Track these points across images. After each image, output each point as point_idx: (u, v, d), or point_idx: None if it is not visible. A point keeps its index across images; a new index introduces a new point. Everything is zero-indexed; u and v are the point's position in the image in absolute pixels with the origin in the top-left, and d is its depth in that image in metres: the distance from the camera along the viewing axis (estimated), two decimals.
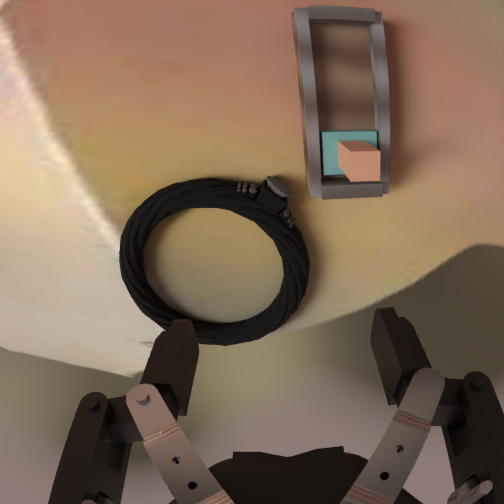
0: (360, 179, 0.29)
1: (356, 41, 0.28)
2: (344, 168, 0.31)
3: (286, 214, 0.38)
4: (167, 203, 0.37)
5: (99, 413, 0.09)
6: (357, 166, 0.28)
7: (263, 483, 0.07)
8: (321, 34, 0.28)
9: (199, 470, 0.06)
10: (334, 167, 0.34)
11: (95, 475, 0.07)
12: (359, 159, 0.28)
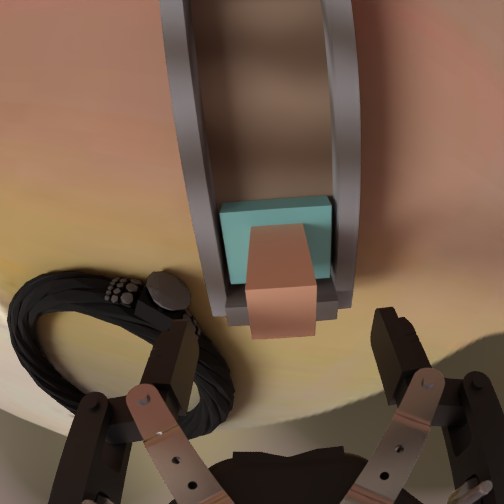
0: (272, 335, 0.14)
1: (295, 19, 0.14)
2: None
3: None
4: (32, 304, 0.23)
5: (99, 413, 0.09)
6: (262, 316, 0.14)
7: (263, 483, 0.07)
8: (220, 14, 0.14)
9: (199, 470, 0.06)
10: None
11: (95, 475, 0.07)
12: (266, 303, 0.14)
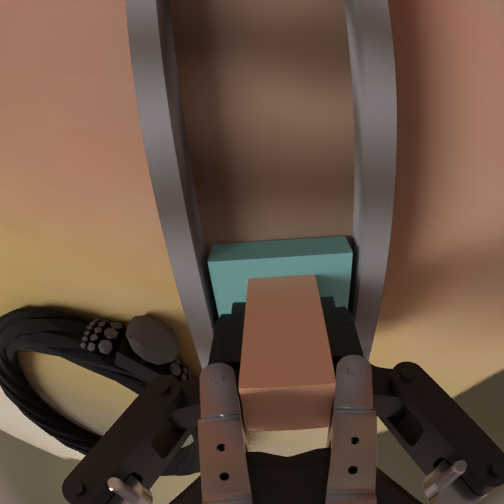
0: (273, 428, 0.10)
1: (307, 2, 0.10)
2: None
3: None
4: (8, 342, 0.19)
5: (172, 396, 0.09)
6: (262, 412, 0.10)
7: (263, 483, 0.07)
8: None
9: (238, 464, 0.07)
10: None
11: (136, 457, 0.08)
12: (267, 401, 0.09)
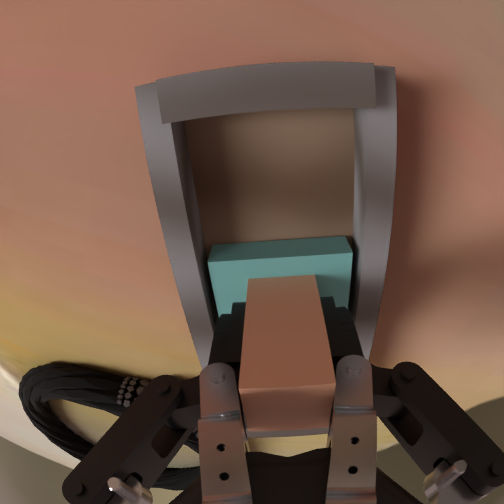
0: (274, 428, 0.10)
1: (320, 149, 0.13)
2: None
3: None
4: (44, 393, 0.22)
5: (172, 396, 0.09)
6: (262, 412, 0.10)
7: (263, 483, 0.07)
8: (223, 140, 0.13)
9: (238, 464, 0.07)
10: None
11: (136, 457, 0.08)
12: (267, 401, 0.09)
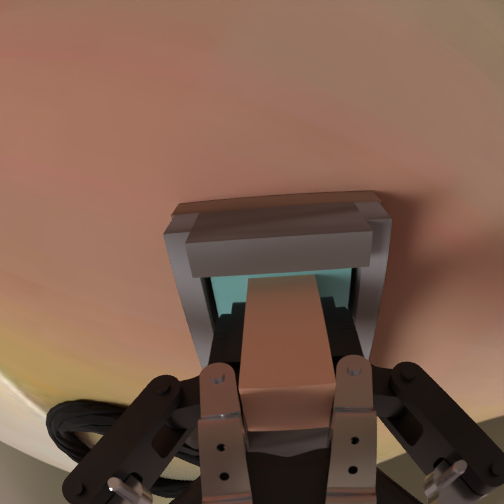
0: (273, 428, 0.10)
1: None
2: None
3: None
4: (75, 427, 0.25)
5: (172, 396, 0.09)
6: (262, 412, 0.10)
7: (263, 483, 0.07)
8: None
9: (238, 464, 0.07)
10: None
11: (136, 456, 0.08)
12: (267, 401, 0.09)
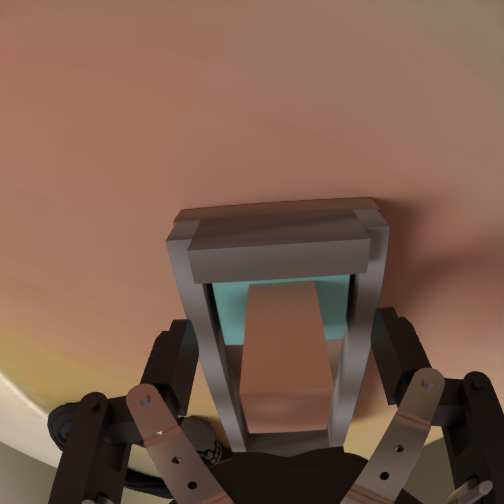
0: (273, 430, 0.11)
1: None
2: None
3: (208, 457, 0.26)
4: None
5: (99, 413, 0.09)
6: (262, 414, 0.10)
7: (263, 483, 0.07)
8: None
9: (199, 470, 0.06)
10: None
11: (95, 475, 0.07)
12: (267, 404, 0.10)
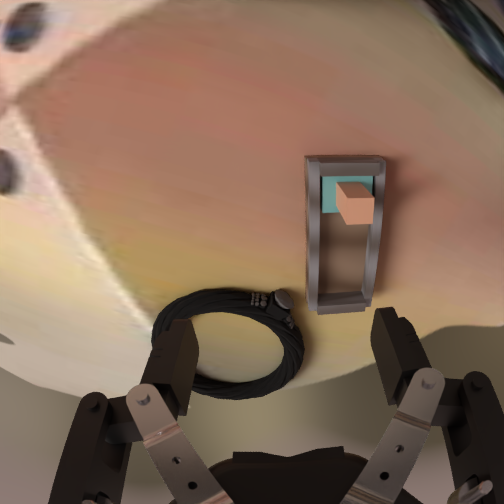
0: (355, 222, 0.33)
1: None
2: (341, 210, 0.35)
3: (288, 320, 0.48)
4: (194, 309, 0.47)
5: (99, 413, 0.09)
6: (352, 211, 0.32)
7: (263, 483, 0.07)
8: None
9: (199, 470, 0.06)
10: (332, 206, 0.38)
11: (95, 475, 0.07)
12: (355, 205, 0.32)
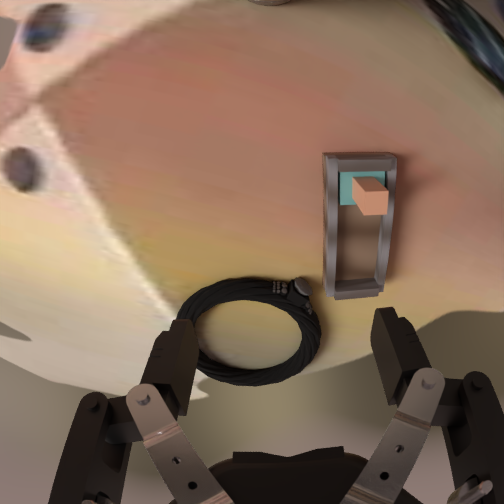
0: (371, 213, 0.36)
1: None
2: (358, 202, 0.38)
3: (307, 306, 0.51)
4: (219, 297, 0.51)
5: (99, 413, 0.09)
6: (369, 203, 0.35)
7: (263, 483, 0.07)
8: None
9: (199, 470, 0.06)
10: (349, 199, 0.41)
11: (95, 475, 0.07)
12: (371, 197, 0.35)
